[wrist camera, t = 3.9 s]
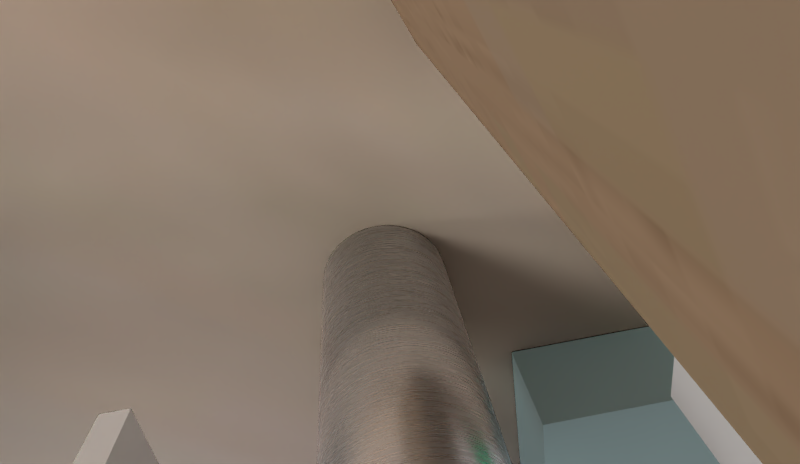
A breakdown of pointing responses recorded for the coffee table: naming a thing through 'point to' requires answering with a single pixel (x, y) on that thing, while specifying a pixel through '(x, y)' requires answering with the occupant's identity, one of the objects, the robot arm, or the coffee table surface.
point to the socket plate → (602, 403)
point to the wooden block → (659, 167)
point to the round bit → (399, 360)
